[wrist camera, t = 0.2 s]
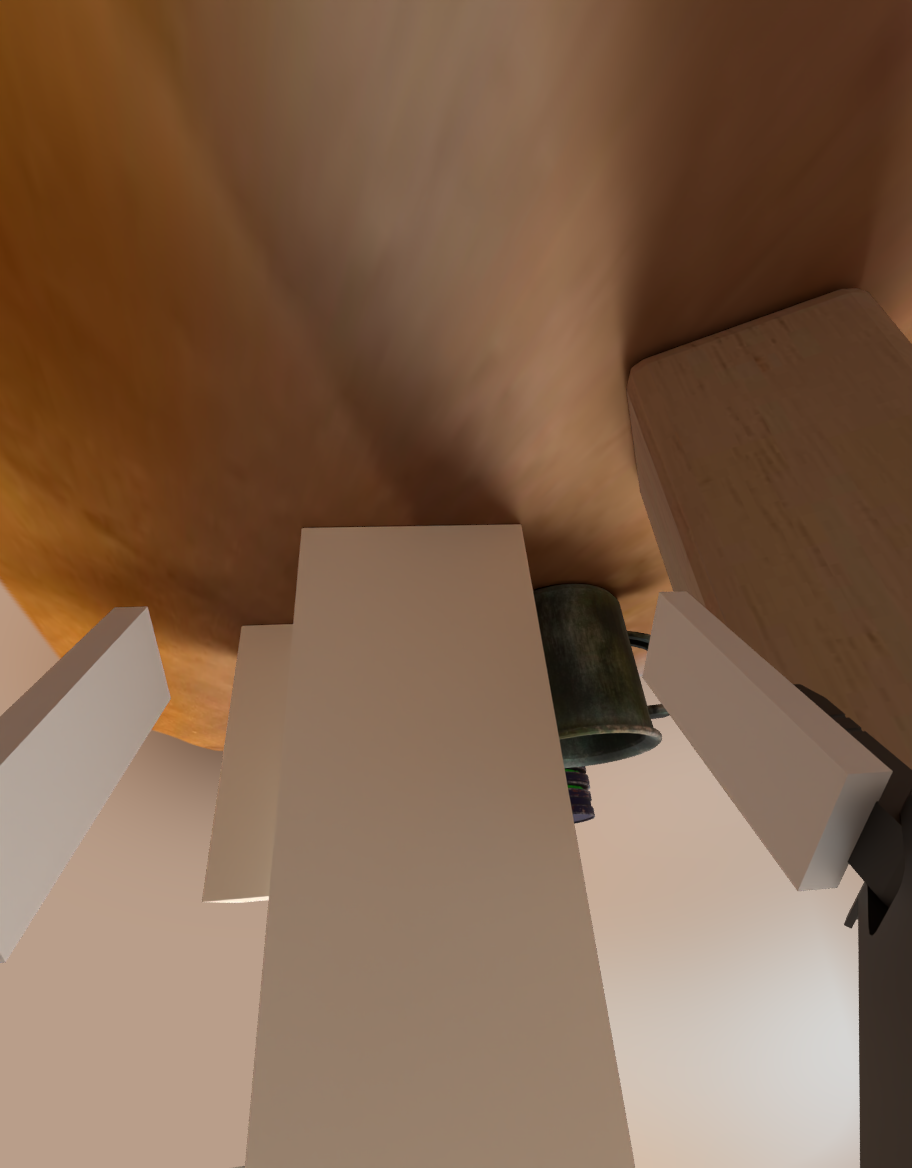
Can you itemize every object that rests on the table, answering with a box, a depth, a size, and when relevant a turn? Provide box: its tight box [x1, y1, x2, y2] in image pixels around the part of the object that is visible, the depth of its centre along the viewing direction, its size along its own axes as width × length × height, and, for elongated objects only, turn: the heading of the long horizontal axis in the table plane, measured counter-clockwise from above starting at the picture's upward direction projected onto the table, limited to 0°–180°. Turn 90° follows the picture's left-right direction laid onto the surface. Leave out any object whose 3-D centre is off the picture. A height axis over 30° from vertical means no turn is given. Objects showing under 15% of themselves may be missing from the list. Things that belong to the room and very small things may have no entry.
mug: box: [533, 584, 669, 768], centre depth 43 cm, size 11×15×12 cm
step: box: [202, 624, 293, 903], centre depth 43 cm, size 8×12×20 cm, turn 87°
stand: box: [245, 524, 635, 1168], centre depth 31 cm, size 10×14×30 cm
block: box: [626, 288, 912, 770], centre depth 22 cm, size 10×10×20 cm
